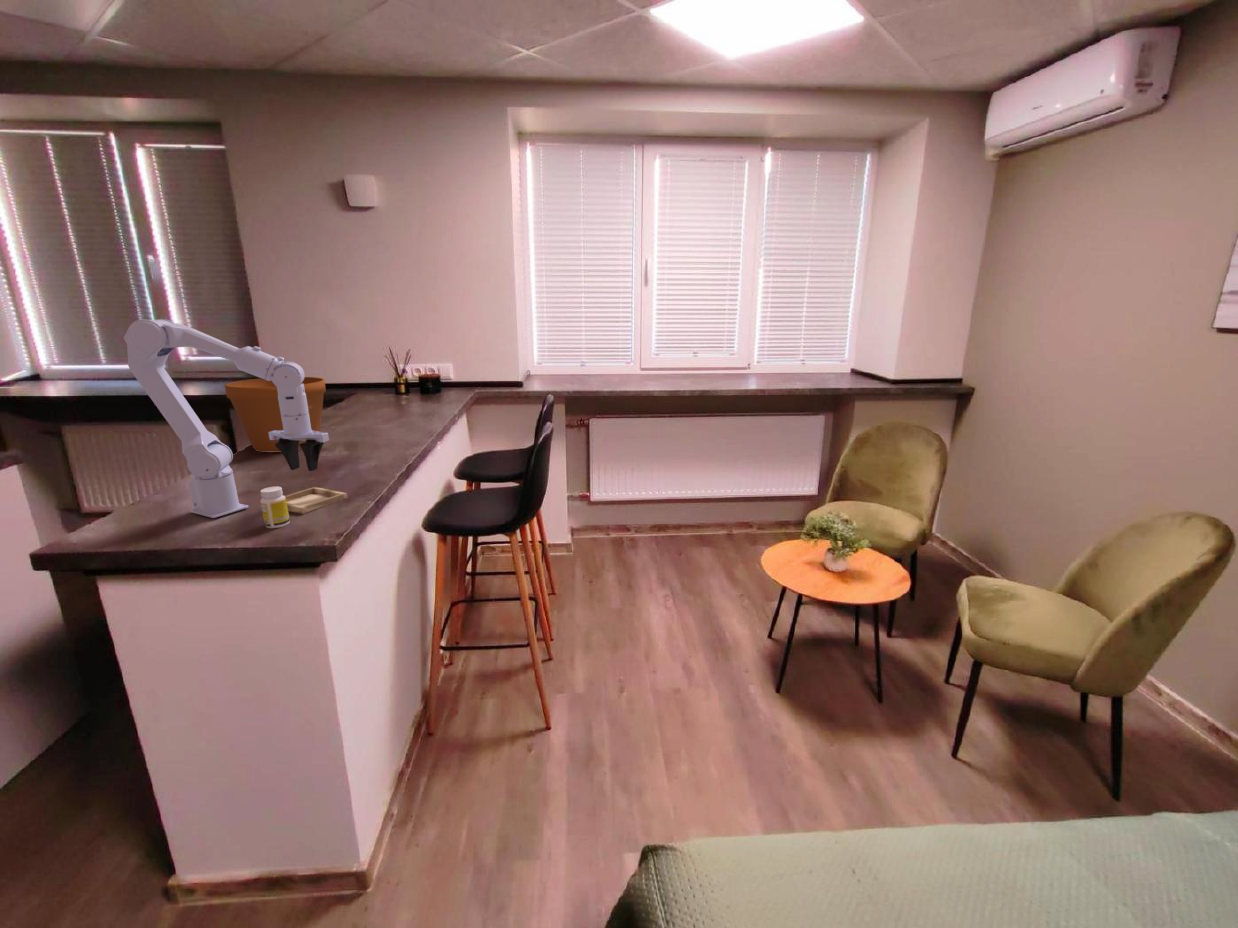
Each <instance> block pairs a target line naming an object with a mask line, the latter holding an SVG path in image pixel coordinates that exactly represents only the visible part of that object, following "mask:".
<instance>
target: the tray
mask: <svg viewBox="0 0 1238 928" xmlns="http://www.w3.org/2000/svg"><path fill="white" fill-rule="evenodd" d="M284 496H285V497H286V502H287V508H288V512H291V513H294V514H298V515H302V516H303V515H307V514H309V513H311V512H314V511H318V510H319V509H322V508H325V507H327V506H331V505H333V504H335V503H338V502H342V501H343V500H346V499H348V493H347V492H343V491H342V492H341V491H337V490H332V489H327V488H323V487H317V486H313V487H310V488H307V489H303V490H299V491H297V492H293V493H290V494H287V495H284ZM299 497H301V498H299Z"/></svg>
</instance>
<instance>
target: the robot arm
mask: <svg viewBox="0 0 1238 928" xmlns="http://www.w3.org/2000/svg"><path fill="white" fill-rule="evenodd" d="M123 340H124V341H125V343H126V346H127V347H126V348H127V365H128V368H129V371H131V373H132V375H133V377H135V379H136V380H137V381H138V383H139V384H140V386H141V387H142V388H143V390H144V391H145V393H146V394H147V396H148V397H149V398H150V399H151V401H152V402H153V404H154V406H156V407H157V409H158V411H159V412H160V414H161V415H162V416H163V418H164V419H165V421H166V422H167V423H168V424H169V426H170V428H171V429H172V430H173V432H174V433H175V434H176V436H177V437H178V438H179V440H180V441H181V450H182V451H181V452H182V454H183V455H184V457H185V459H186V466H187V469H188V471H189V472H190V473H191V474H192V475H193V476H191V478H190V480H189V482H188V489H189V494H190V498H191V502H192V507H193V508H192V509H190V510H189V512H190V513H192V514H196V515H200V516H204V517H207V518H212V519H215V518H218V517H222V516H225V515H228V514H232V513H235V512H239V511H241V510H242V511H243V510H245V509H248V508H249V505H248V504H243V503H240V501H239V496H238V491H237V486H236V482H235V476H234V473H233V472H234V471H233V469H232V468H231V467H230V464H231V463H232V461H233V459H234V454H233V451H232V449H231V448H230V447H229V446H228V445H226V444H225V443H223V442H221V440H219V438H218V437H217V435H215V434H214V433H213V432H210V431H209V430H207V428H206V426H205V425H204V424H203V422H202V420H200V418H199V416H198V415H197V413H196V412H195V411H194V409H193V408H192V407H191V405H190V403H189V402H188V400H187V399H186V397H184V394H182V392H181V390H180V389H179V387H178V386H177V385H176V383H175V381H174V380H173V379H172V378H171V376H170V375H169V373H168V371H166V369H165V367H164V366H165V364H166V362H167V360H168V358H169V355H170V354H171V352H173V350H175V349H176V348H189V347H190V348H194V349H197V350H200V351H202V352H205V353H209V354H211V355H214V356H216V357H220V358H221V359H225V360H228V361H231V362H233V364H234V365H235V366H236V368H237V370H239V371H241V372H244V373H247V374H249V375H251V376H255V377H256V378H258V379H265V380H267V381H270V380H272V382H273V383H274V385H275V386H277V391H278V401H279V407H280V412H281V418H282V424H283V430H281V431H277V430H274V431H271V432H268V433H269V438H270V440H275V439H279V442H278V443H275V446H276V447H277V448H278V449H279V450H280V451H281V453H280V454H282V456H283V457H284V459H285V460H286V462H287V464H288V466H289V469H290V470H291V471H294V470H297V469H299V468H300V457H299V450H298V447H299V440H300V441H306V442H304V443H301V444H300V447H301V448H302V452H303V455H304V457H305V461H306V467H307V470H308V471H309V472H313V471H315V470H318V464H319V458H320V454H321V450H322V448H323V446H324V444H325V443H326V442H328V441H330V438H329V432H323V431H320V432H318V431H312V430H311V424H310V417H309V411H308V404H307V398H306V394H305V388H304V384H303V383H302V382H303V380H304V378H305V377H306V374H305V370H304V369H303V367H302V366H301V365H300V364H298V363H296V362H295V361H292V360H287V361H285V358H284V357H282V356H278V357H277V356H274V355H272V354H269V353H267V352H264V351H262V348H261V347H259V346H256V345H255V346H253V347H252V346H249V345H246V346H244V347H241V348H239V347H237V346H234V345H232V344H230V343H227V342H225V341H223V340H220V339H219V338H216V337H213V336H211V335H209V334H207V333H205V332H202V331H200V330H197V329H195V328H192V327H190V326H188V325H184V324H183V323H178V322H177V323H175V322H174V321H172V320H169V319H164V318H158V319H138V320H135V321H133V322H132V323H130V325H129V326H128V328H127V331H126V332H125V335H124V336H123ZM301 383H302V384H301ZM300 384H301V385H300Z"/></svg>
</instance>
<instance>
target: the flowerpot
mask: <svg viewBox="0 0 1238 928" xmlns="http://www.w3.org/2000/svg"><path fill="white" fill-rule="evenodd" d="M302 383H303V384H304V388H305V394H306V398H307V404H308V411H309V417H310V424H311V430H312V431H318V432H321V427H322V419H323V418H322V416H323V406H324V397H325V395H324V393H326V392H327V390H326V381H325V379H324V378H322V377H316V376H314V377H313V376H305V378H304V380H303V382H302ZM302 383H301V384H302ZM301 384H300V385H301ZM224 389H225V395H226V398H227V399H229V400H230V402H231V404H232V406H233V408H234V410H235V412H236V415H237V416H238V418H239V420H240V423H241V426H242V427H243V429H244V431H245V434H246V436H247V438H248V440H249V442H250V445H251V447H252V446H253V447H252V449H253V448H255V450H259V451H280V450H279V449H278V448H277V447H276V446H275V443H278V442H279V439H275V440H270V438H269V433H268V432H271V431H274V430H277V431H281V430H283V424H282V418H281V412H280V407H279V401H278V391H277V386H275V385H274V383H273V382H272V380H270V381H267V380H265V379H262V378H254V379H245V380H238V381H237V380H236V381H231V382H228V383H225V384H224ZM304 442H306V441H300V440H299V447H298V449H302V448H301V447H300V444H301V443H304Z"/></svg>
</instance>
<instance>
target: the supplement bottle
mask: <svg viewBox="0 0 1238 928" xmlns="http://www.w3.org/2000/svg"><path fill="white" fill-rule="evenodd" d="M283 494H284V493H283V488H282V487H281V486H277V485H276V486H268V487H265V488H263V489H261V490H260V496H261V498H260V507H261V512H262V517H263V521H264V526H265V528H266V529H277V528H278V529H279V528H282V527H285V526H287V525H289V524H290V522H291V520H290V515H289V514H290V513H289V511H288V508H287V502H286V497H285V496H286V495H283Z"/></svg>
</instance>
